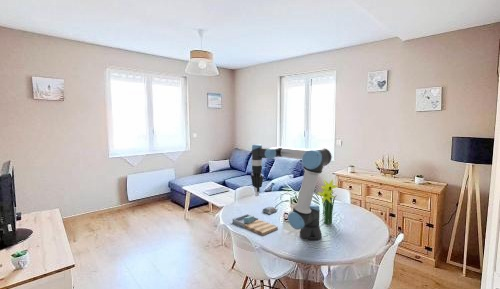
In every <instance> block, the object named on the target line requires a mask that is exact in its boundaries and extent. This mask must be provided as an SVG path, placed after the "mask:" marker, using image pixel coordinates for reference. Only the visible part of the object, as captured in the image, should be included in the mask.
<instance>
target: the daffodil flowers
mask: <svg viewBox="0 0 500 289" xmlns="http://www.w3.org/2000/svg"><path fill="white" fill-rule="evenodd" d="M323 183H324V184H325V185H322V186H320V187H321V188H322V192H317V193H316V194H317V195H319V196H320V197H321V203H322V206H323V208H322V210H323V211H322V217H323V224H325V225H327V226H329V224H330V225H331V224H333V212H334V203H335V199H336V197H337V196H338V195H337V194H335V195H333V194H334V191H333V189H336V188H338V187H339V185H336V184H335V185H334V179H333V178H332V179H331V180H330V181H329V183H328V182H327V181H325V180H323Z"/></svg>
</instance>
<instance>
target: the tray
mask: <svg viewBox="0 0 500 289" xmlns="http://www.w3.org/2000/svg"><path fill="white" fill-rule="evenodd" d="M248 216H252V214H251V215H250V214H244V215H241V216H237V217H235V218H232V223H233V224H234V225H237V226H239V227H242V228H244V225H245V224H248V223H244V219H243V218H245V217H248ZM254 220H255V221H256V220H259V218H258V217H256V216H254Z"/></svg>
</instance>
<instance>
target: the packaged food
mask: <svg viewBox="0 0 500 289" xmlns="http://www.w3.org/2000/svg"><path fill="white" fill-rule="evenodd" d="M278 210H279V209H278V208H276V207H274V206H268V207H265V208H263V209H262V211H261V212H262V213H265V214H268V215H271V214H273V213H275V212H276V213H277V211H278Z"/></svg>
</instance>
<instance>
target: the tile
mask: <svg viewBox="0 0 500 289" xmlns="http://www.w3.org/2000/svg"><path fill="white" fill-rule="evenodd" d="M254 217H255V216H254V215H251V216H248V217H245V218H243V219H244V223H251V222H254V221H255V220H254Z"/></svg>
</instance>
